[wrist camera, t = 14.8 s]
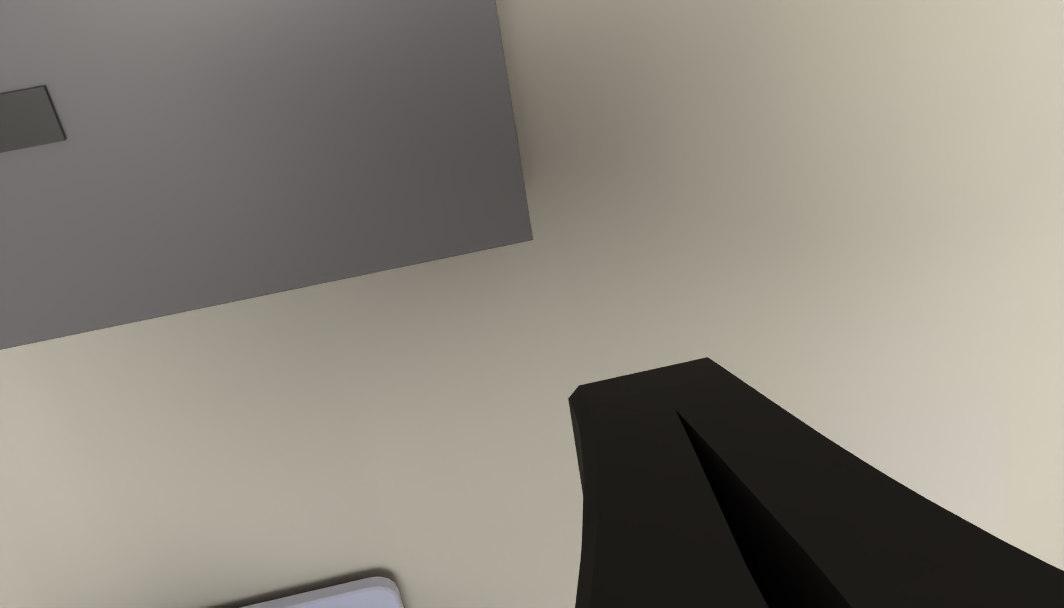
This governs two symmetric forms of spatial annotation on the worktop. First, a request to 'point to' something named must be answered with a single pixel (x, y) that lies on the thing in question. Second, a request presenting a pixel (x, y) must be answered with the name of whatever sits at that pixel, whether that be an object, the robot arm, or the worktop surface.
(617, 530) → the robot arm
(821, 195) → the worktop surface
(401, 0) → the console
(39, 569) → the worktop surface
